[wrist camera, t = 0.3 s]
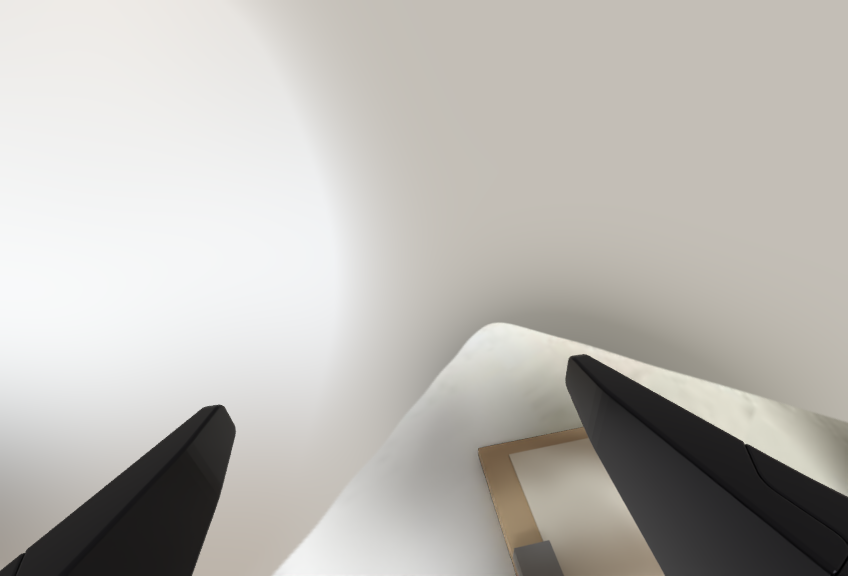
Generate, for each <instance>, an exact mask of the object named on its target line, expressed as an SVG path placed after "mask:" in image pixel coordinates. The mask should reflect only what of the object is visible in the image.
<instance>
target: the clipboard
mask: <svg viewBox="0 0 848 576" xmlns="http://www.w3.org/2000/svg"><path fill="white" fill-rule="evenodd" d="M478 455H479V458H480V461H481V465H482V468H483V471H484V474H485V477H486V480H487V484H488V487H489V490H490V493H491V496H492V499H493V503H494V506H495V509H496V512H497V515H498V519H499V522H500V525H501V528H502V531H503V534H504V538H505V541H506V544H507V547H508V550H509V553H510V557H511V560H512V563H513V566H514V569H515V572H516V576H665V575H664V573H663V571H662V570H661V568H660V566H659V564H658V562H657V561H656V559H655V557H654V555H653V553H652V552H651V550H650V548H649V546H648V545H647V543H646V541H645V539H644V537H643V536H642V534H641V532H640V530H639V528H638V527H637V525H636V523H635V521H634V519H633V518H632V516H631V514H630V512H629V511H628V509H627V507H626V505H625V503H624V502H623V500H622V498H621V496H620V494H619V493H618V491H617V489H616V487H615V486H614V484H613V482H612V480H611V478H610V477H609V475H608V473H607V471H606V469H605V468H604V466H603V464H602V462H601V460H600V459H599V457H598V455H597V453H596V452H595V450H594V448H593V446H592V444H591V442H590V440H589V438H588V436H587V433H586V431H585V429H584V427H581V428H576V429H571V430H566V431H561V432H556V433H551V434H546V435H541V436H536V437H532V438H527V439H522V440H517V441H512V442H507V443H502V444H497V445H492V446H487V447H482V448H478Z"/></svg>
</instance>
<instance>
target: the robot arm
mask: <svg viewBox="0 0 848 576" xmlns="http://www.w3.org/2000/svg"><path fill="white" fill-rule="evenodd" d="M565 381H566V386H567V389H568V392H569V394H570V396H571V399H572V401H573V403H574V406H575V408H576V410H577V412H578V415H579V417H580V419H581V422H582V424H583V426H584V429H585V431H586V433H587V436H588V438H589V440H590V442H591V444H592V446H593V448H594V450H595V452H596V453H597V455H598V457H599V459H600V460H601V462H602V464H603V466H604V468H605V469H606V471H607V473H608V475H609V477H610V478H611V480H612V482H613V484H614V486H615V487H616V489H617V491H618V493H619V494H620V496H621V498H622V500H623V502H624V503H625V505H626V507H627V509H628V511H629V512H630V514H631V516H632V518H633V519H634V521H635V523H636V525H637V527H638V528H639V530H640V532H641V534H642V536H643V537H644V539H645V541H646V543H647V545H648V546H649V548H650V550H651V552H652V553H653V555H654V557H655V559H656V561H657V562H658V564H659V566H660V568H661V570H662V571H663V573H664V575H665V576H848V497H847V496H845V495H843V494H841V493H839V492H837V491H835V490H833V489H831V488H829V487H827V486H825V485H823V484H821V483H819V482H817V481H815V480H813V479H811V478H809V477H807V476H805V475H804V474H802V473H800V472H798V471H796V470H794V469H792V468H791V467H789V466H787V465H785V464H783V463H781V462H779V461H778V460H776V459H774V458H772V457H770V456H768V455H767V454H765V453H763V452H761V451H759V450H758V449H756V448H754V447H752V446H750V445H749V444H744V442H743V441H741V440H739V439H738V438H736V437H734V436H732V435H730V434H729V433H727V432H725V431H723V430H721V429H720V428H718V427H716V426H714V425H712V424H711V423H709V422H707V421H705V420H703V419H702V418H700V417H698V416H696V415H694V414H693V413H691V412H689V411H687V410H685V409H684V408H682V407H680V406H678V405H676V404H675V403H673V402H671V401H669V400H667V399H666V398H664V397H662V396H660V395H658V394H657V393H655V392H653V391H651V390H649V389H648V388H646V387H644V386H642V385H640V384H639V383H637V382H635V381H633V380H631V379H630V378H628V377H626V376H624V375H622V374H621V373H619V372H617V371H615V370H613V369H612V368H610V367H608V366H606V365H604V364H603V363H601V362H599V361H597V360H595V359H594V358H592V357H590V356H588V355H585V354H582V355H575V356H571V357H570V358H569V360H568V365H567V372H566V379H565ZM235 434H236V430H235V425H234V423H233V422H232V420H231V418H230V416H229V414H228V412H227V411H226V409H225V407H224V406H222V405H213V406H207V407H204V408H202V409H201V410H199V411H198V412H197V413H196V414H195V415H193V416H192V417H191V418H190V419H188V420H187V421H186V422H185V423H184V424H182V425H181V426H180V427H178V428H177V429H176V430H175V431H174V432H172V433H171V434H170V435H168V436H167V437H166V438H165V439H164V440H162V441H161V442H160V443H159V444H157V445H156V446H155V447H154V448H152V449H151V450H150V451H149V452H147V453H146V454H145V455H144V456H142V457H141V458H140V459H139V460H138V461H136V462H135V463H134V464H132V465H131V466H130V467H129V468H127V470H125V471H124V472H122V473H121V474H120V475H119V476H118V477H116V478H115V479H114V480H113V481H111V482H110V483H109V484H108V485H106V486H105V487H104V488H103V489H102V490H100V491H99V492H98V493H96V494H95V495H94V496H93V497H92V498H90V499H89V500H88V501H87V502H85V503H84V504H83V505H82V506H80V507H79V508H78V509H77V510H75V511H74V512H73V513H72V514H70V515H69V516H68V517H67V518H65V519H64V520H63V521H62V522H60V523H59V524H58V525H57V526H55V527H54V528H53V529H52V530H50V531H49V532H48V533H47V534H45V535H44V536H43V537H42V538H41V539H39V540H38V541H37V542H35V543H34V544H33V545H32V546H31V547H29V548H28V549H27V550H26V553H23V554H21V555H19V556H18V557H17V558H15V559H14V560H13V561H12V562H11V563H9V564H8V565H7V566H6V567H4V568H3V569H2V570H1V571H0V576H192V574H193V571H194V568H195V566H196V563H197V560H198V557H199V554H200V551H201V549H202V546H203V543H204V540H205V537H206V534H207V531H208V529H209V526H210V523H211V521H212V518H213V515H214V512H215V509H216V506H217V503H218V500H219V497H220V494H221V490H222V487H223V483H224V479H225V475H226V471H227V467H228V463H229V459H230V455H231V450H232V447H233V443H234V438H235Z"/></svg>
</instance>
